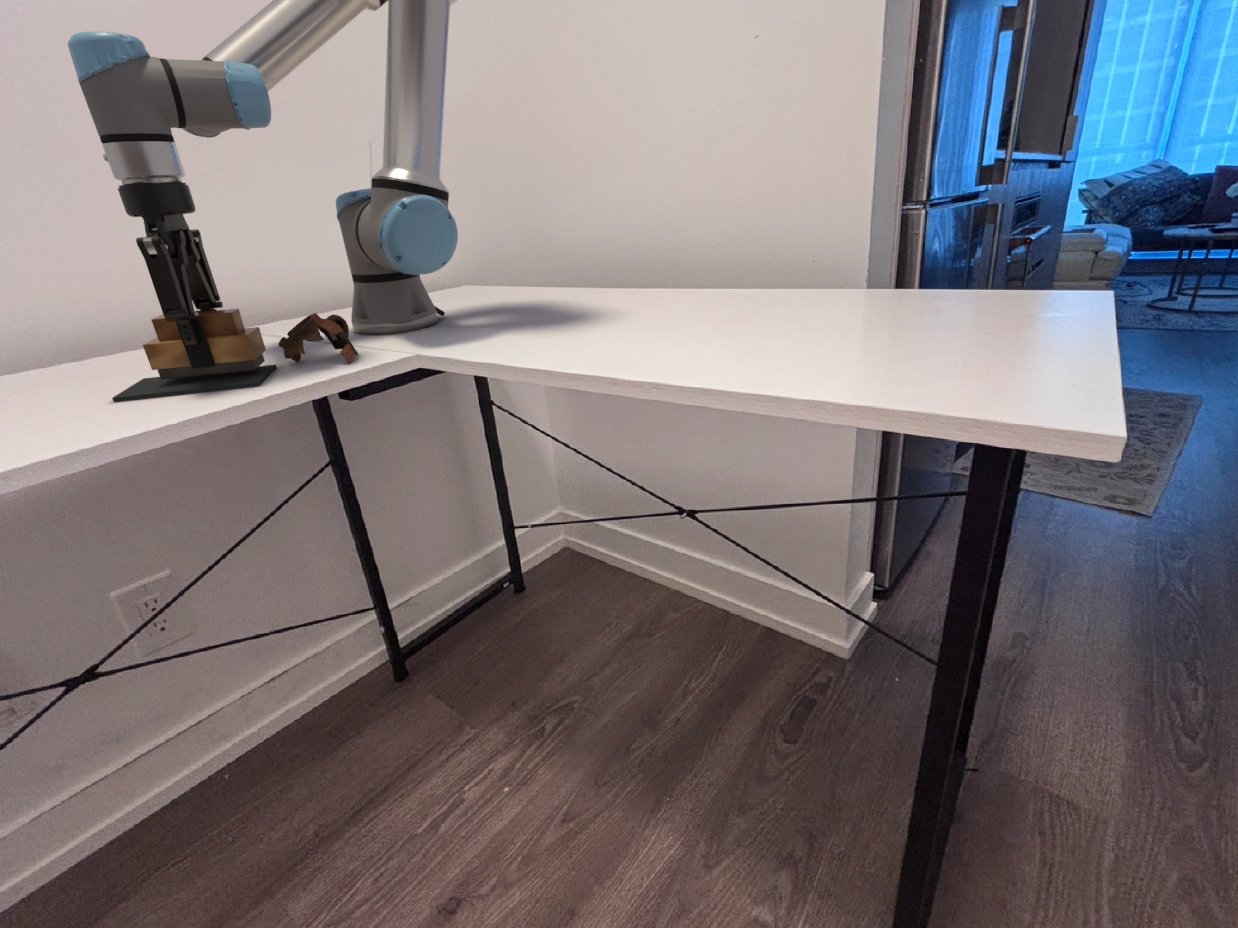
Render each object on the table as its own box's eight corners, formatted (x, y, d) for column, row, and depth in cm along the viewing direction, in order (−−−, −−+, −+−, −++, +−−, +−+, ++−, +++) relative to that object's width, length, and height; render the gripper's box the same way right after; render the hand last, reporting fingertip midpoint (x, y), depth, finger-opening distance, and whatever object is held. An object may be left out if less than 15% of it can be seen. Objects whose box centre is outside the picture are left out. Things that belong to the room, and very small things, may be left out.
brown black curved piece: (348, 372, 91) (304, 327, 87) (305, 398, 94) (261, 356, 90) (377, 332, 100) (338, 290, 96) (337, 357, 104) (298, 317, 99)
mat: (277, 368, 93) (276, 364, 93) (259, 386, 85) (258, 381, 85) (145, 382, 90) (143, 378, 90) (113, 402, 82) (111, 397, 82)
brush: (155, 380, 85) (133, 322, 82) (172, 369, 90) (152, 314, 87) (257, 370, 87) (240, 313, 84) (269, 360, 92) (253, 306, 89)
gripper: (152, 182, 86) (207, 347, 96) (77, 183, 69) (153, 382, 79) (211, 179, 87) (259, 342, 97) (151, 179, 71) (217, 376, 81)
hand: (211, 360), depth 88 cm, fingers closed on brush, 6 cm apart
